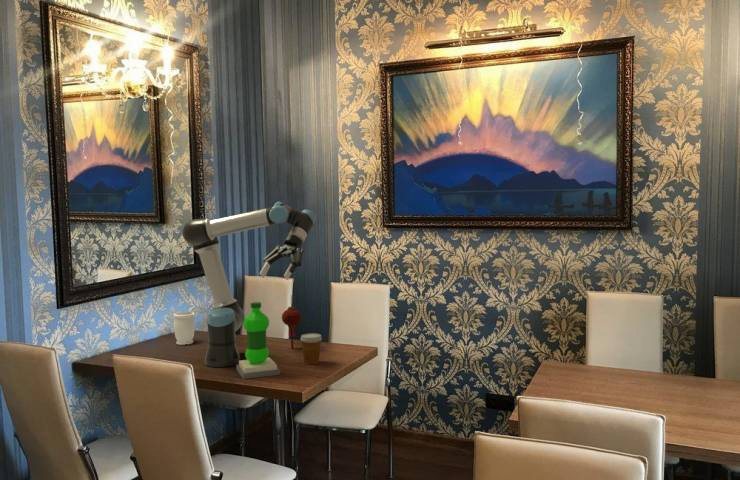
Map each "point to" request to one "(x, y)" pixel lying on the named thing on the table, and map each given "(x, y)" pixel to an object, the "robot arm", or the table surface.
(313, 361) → the disposable coffee cup
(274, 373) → the stepped plinth
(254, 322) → the plastic bottle
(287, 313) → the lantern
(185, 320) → the jar
